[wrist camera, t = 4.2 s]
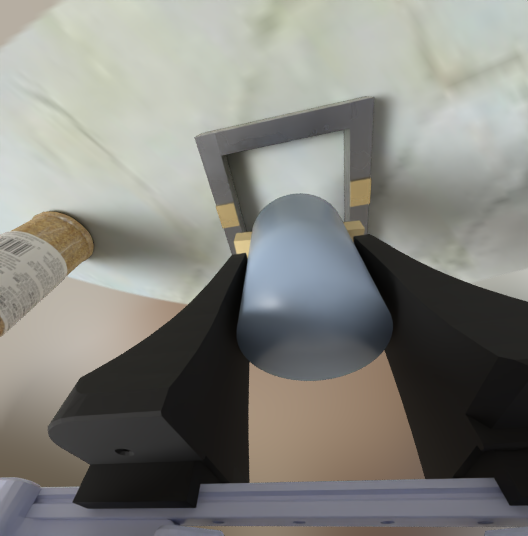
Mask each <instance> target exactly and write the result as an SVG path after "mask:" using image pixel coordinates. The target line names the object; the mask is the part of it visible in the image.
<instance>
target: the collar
mask: <svg viewBox="0 0 528 536" xmlns="http://www.w3.org/2000/svg"><path fill="white" fill-rule="evenodd" d="M373 114H374V97H367V96H365V97H361V98H356V99H352V100H347V101H343V102H338V103H334V104H330V105H325V106H321V107H316V108H312V109H307V110H303V111H299V112H294V113H290V114H285V115H281V116H276V117H272V118H268V119H263V120H259V121H254V122H250V123H245V124H241V125H236V126H232V127H228V128H223V129H219V130H214V131H210V132H205V133H201V134H199V135H198V136H196V137H194V138H195V141H196V144H197V147H198V150H199V153H200V156H201V159H202V162H203V166H204V169H205V172H206V175H207V178H208V181H209V184H210V187H211V190H212V194H213V197H214V200H215V203H216V209H217V212H218V215H219V218H220V221H221V224H222V228H224V231H225V234H226V237H227V240H228V243H229V247H230V250H231V253H232V255H234V254H237V253H236V249H235V245H234V239H235V235H236V233H244V232H246V228H245V224H244V221H243V217H242V213H241V209H240V206H239V202H238V198H237V194H236V190H235V187H234V183H233V179H232V175H231V172H230V168H229V164H228V160H227V156H226V154H231V153H235V152H240V151H245V150H250V149H254V148H259V147H264V146H269V145H273V144H278V143H283V142H288V141H292V140H297V139H302V138H307V137H311V136H316V135H321V134H326V133H330V132H335V131H340V130H344V209H345V222H350V221H360V222H361V223H362V225H363V226H364V228H365V231H364V235H366V234H367V230H368V211H369V204H370V193H371V178H370V172H371V153H372V133H373Z"/></svg>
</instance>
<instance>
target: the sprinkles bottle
mask: <svg viewBox="0 0 528 536" xmlns="http://www.w3.org/2000/svg"><path fill="white" fill-rule="evenodd" d="M93 247H94V245H93V240H92V238H91V235H90V234H89V232H88V231H87V230H86V229H85V228H84V227H83V226H82V225H81V224H80V223H79V222H77V221H76V220H75V219H73V218H72V217H69V216H67V215H65V214H61V213H58V212H48V211H47V212H42V213H40V214H37V215H35V216H34V217H33V219H32V220H30V221H28V222H27V223H25V224H23V225H21V226H19V227H18V228H16V229H14V230H12V231H10V232H5V233H3V234H1V235H0V337H1V336H3V335H4V334H5V333H6V332H7V331H8V330H9V329H10V328H12V327H13V326H14V325H15V324H16V323H17V322H18V321H19V320H20V319H21V318H23V317H24V316H25V315H26V314H27V313H28V312H29V311H30V310H31V309H32V308H34V307H35V306H36V305H37V303H39V302H40V301H41V300H42V299H43V298H44V297H46V296H47V295H48V294H49V293H50V292H51V291H52V290H53V289H54V288H55V287H56V286H58V285H59V284H60V283H61V282H62V281H63V280H64V279H65V277H66V276H67V275H68V274H69V273H70V272H71V271H72V270H74V269H75V268H76V267H77V266H78V265H79V264H80V263H81V262H83V261H85V260H86V259H88V258H89V257H90V256H91V255H92V253H93Z"/></svg>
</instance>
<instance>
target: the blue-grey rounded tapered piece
mask: <svg viewBox="0 0 528 536" xmlns="http://www.w3.org/2000/svg"><path fill="white" fill-rule="evenodd" d="M364 231H365V228H364V226H363V225H362V223H361V222H360V221H350V222H343V221H342V220H341V218H340V216H339V214H338V212H337V211H336V209H335V208H334V207H333V206H332V205H331V204H330V203H328V202H327V201H326V200H324V199H322V198H320V197H317V196H314V195H310V194H301V193H300V194H290V195H286V196H283V197H280V198H278V199H276V200H274V201H273V202H271V203H269V204H268V205H267V206H266V207H265V208H264V209H263V210H262V211H261V212H260V213H259V215H258V216H257V218H256V220H255V222H254V225H253V229H252V232H244V233H236V235H235V239H234V245H235V249H236V253H237V254H241V253H246V254H247V258H248V260H247V267H246V273H245V280H244V286H243V292H242V299H241V305H240V312H239V318H238V324H237V342H238V345H239V348H240V350H241V352H242V353H243V355H244V356H245V357H246V358H247V359H248V360H249V361H250V362H251V363H252V364H254V365H255V366H256V367H258V368H259V369H261V370H263V371H265V372H267V373H269V374H272V375H275V376H278V377H282V378H286V379H292V380H301V381H317V380H326V379H332V378H336V377H341V376H344V375H347V374H350V373H352V372H355V371H357V370H359V369H361V368H363V367H365V366H366V365H368V364H370V363H371V362H372V361H374V360H375V359H376V358H377V357H378V356H379V355H380V354H381V353H382V352H383V351H384V350H385V348H386V347H387V345H388V343H389V341H390V339H391V336H392V331H393V321H392V317H391V314H390V312H389V310H388V308H387V306H386V304H385V302H384V300H383V299H382V297H381V295H380V293H379V291H378V289H377V287H376V285H375V283H374V281H373V279H372V277H371V275H370V273H369V272H368V270H367V268H366V266H365V264H364V262H363V260H362V258H361V256H360V254H359V252H358V250H357V248H356V246H355V245H354V243H353V238H354V236H359V235H364Z"/></svg>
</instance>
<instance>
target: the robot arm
mask: <svg viewBox="0 0 528 536" xmlns="http://www.w3.org/2000/svg"><path fill="white" fill-rule="evenodd" d="M353 243H354V245H355V246H356V248H357V250H358V252H359V254H360V256H361V258H362V260H363V262H364V264H365V266H366V268H367V270H368V272H369V273H370V275H371V277H372V279H373V281H374V283H375V285H376V287H377V289H378V291H379V293H380V295H381V297H382V299H383V300H384V302H385V304H386V306H387V308H388V310H389V312H390V314H391V317H392V321H393V331H392V336H391V339H390V341H389V343H388V345H387V347H386V348H385V353H386V356H387V359H388V361H389V364H390V367H391V370H392V373H393V376H394V378H395V382H396V384H397V388H398V390H399V393H400V396H401V400H402V403H403V406H404V409H405V412H406V415H407V419H408V422H409V425H410V428H411V431H412V434H413V438H414V441H415V445H416V448H417V452H418V455H419V459H420V462H421V465H422V468H423V473H424V476H425V479H412V480H367V481H366V480H365V481H318V482H273V483H272V482H271V483H249V443H248V442H249V441H248V404H249V400H248V399H249V362H250V361H249V360H248V359H247V358H246V357H245V356H244V355H243V353H242V352H241V350H240V348H239V345H238V342H237V324H238V318H239V312H240V305H241V299H242V292H243V286H244V280H245V273H246V267H247V260H248V258H247V254H246V253H241V254H234V255H232V256H231V257H230V258H229V259H228V261H227V262H226V263H225V264H224V265H223V267H222V268H221V269H220V270H219V272H218V273H217V274H216V275H215V276H214V278H213V279H212V280H211V281H210V282H209V283H208V285H207V286H206V287H205V288H204V289H203V290H202V291H201V292H200V293H199V294H198V295H197V296H196V297H195V298H194V299H193V300H192V301H191V302H190V303H189V304H188V305H187V306H186V307H185V308H184V309H183V310H182V311H181V312H179V313H178V314H177V315H176V316H175V317H174V318H172V319H171V320H170V321H169V322H167V323H166V324H165V325H163V326H162V327H161V328H159V329H158V330H157V331H155V332H154V333H153V334H151V335H150V336H149V337H147V338H146V339H144V340H143V341H141V342H140V343H138V344H137V345H135V346H134V347H132V348H131V349H129V350H128V351H126V352H125V353H123V354H121V355H120V356H118V357H116V358H115V359H113V360H111V361H109V362H108V363H106V364H104V365H102V366H101V367H99V368H97V369H95V370H94V371H92V372H90V373H88V374H86V375H85V376H83V377H81V378H80V379H79V381H78V382H77V384H76V385H75V387H74V388H73V390H72V391H71V393H70V394H69V396H68V397H67V399H66V400H65V402H64V403H63V405H62V406H61V408H60V409H59V411H58V412H57V414H56V415H55V417H54V418H53V420H52V421H51V423H50V424H49V426H48V434H49V437H50V438H51V440H52V441H53V442H54V443H55V444H57V445H58V446H60V447H61V448H63V449H64V450H66V451H68V452H69V453H71V454H73V455H75V456H76V457H79V458H80V459H81V460H83V461H85V462H87V463H88V464H90V467H89V469H88V471H87V473H86V475H85V477H84V479H83V481H82V483H81V486H80V487H40V485H39V484H37V483H35V482H32V481H29V480H26V479H21V478H13V477H8V478H0V536H224V534H223V532H222V531H219V530H211V529H202V528H194V527H186V526H392V527H395V526H396V527H398V526H399V527H400V526H402V527H405V526H406V527H412V526H413V527H415V526H416V527H417V526H419V527H428V526H429V527H516V528H507V529H498V530H489V531H485V534H484V536H528V302H526V301H523V300H519V299H516V298H512V297H509V296H506V295H503V294H499V293H496V292H493V291H490V290H487V289H483V288H481V287H478V286H475V285H472V284H470V283H467V282H464V281H462V280H459V279H457V278H454V277H452V276H449V275H447V274H444V273H442V272H440V271H437V270H435V269H433V268H431V267H429V266H427V265H425V264H423V263H421V262H419V261H417V260H415V259H413V258H411V257H409V256H407V255H405V254H404V253H402V252H400V251H398V250H396V249H395V248H393V247H391V246H390V245H388V244H386V243H384V242H383V241H381V240H379V239H378V238H376V237H374V236H372V235H370V234H366V235H359V236H354V238H353Z"/></svg>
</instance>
